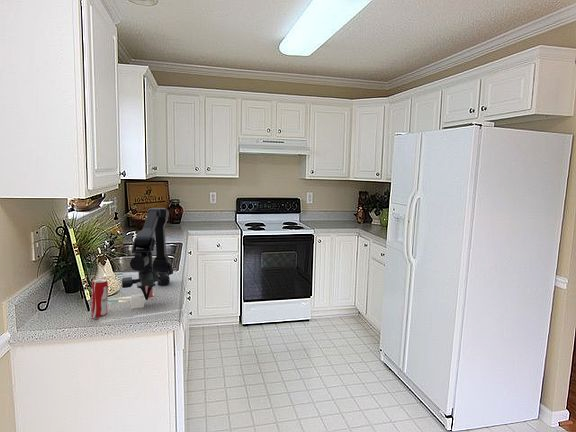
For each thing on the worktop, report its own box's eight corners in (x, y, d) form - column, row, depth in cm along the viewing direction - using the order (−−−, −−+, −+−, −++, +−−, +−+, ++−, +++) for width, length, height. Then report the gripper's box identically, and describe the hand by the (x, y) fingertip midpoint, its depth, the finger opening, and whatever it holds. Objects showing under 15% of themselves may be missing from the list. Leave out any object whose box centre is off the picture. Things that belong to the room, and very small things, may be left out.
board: (106, 301, 169) (105, 299, 169) (153, 295, 177) (153, 293, 177) (105, 306, 164) (105, 303, 164) (155, 299, 172) (155, 297, 172)
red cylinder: (144, 295, 174) (143, 277, 173) (152, 294, 176) (151, 276, 175) (144, 298, 171) (144, 280, 170) (153, 297, 173) (152, 279, 171)
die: (130, 306, 163) (130, 295, 163) (143, 305, 166) (142, 294, 165) (131, 311, 159) (131, 299, 158) (144, 309, 161) (143, 297, 160)
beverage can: (89, 315, 153) (87, 279, 151) (107, 312, 157) (105, 277, 155) (92, 320, 149) (90, 283, 147) (110, 317, 153) (109, 280, 150)
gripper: (122, 271, 150) (123, 309, 152) (171, 266, 158) (172, 303, 160) (120, 264, 160) (122, 300, 162) (167, 260, 168) (168, 294, 170)
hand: (146, 299), depth 163 cm, fingers closed
